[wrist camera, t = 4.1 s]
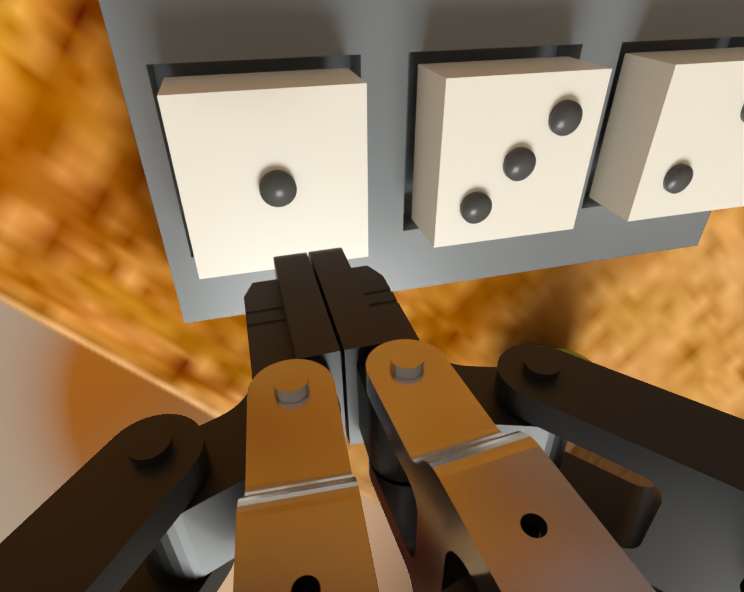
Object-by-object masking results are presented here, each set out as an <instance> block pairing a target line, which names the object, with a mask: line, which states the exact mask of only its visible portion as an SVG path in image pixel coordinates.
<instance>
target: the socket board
mask: <svg viewBox="0 0 744 592" xmlns="http://www.w3.org/2000/svg"><path fill="white" fill-rule="evenodd" d="M99 4H100V7H101V11H102V15H103V19H104V22H105V26H106V30H107V34H108V37H109V41H110V45H111V49H112V52H113V56H114V60H115V64H116V67H117V71H118V75H119V79H120V82H121V86H122V90H123V94H124V97H125V101H126V105H127V109H128V112H129V116H130V120H131V124H132V127H133V131H134V135H135V139H136V143H137V146H138V150H139V154H140V158H141V161H142V165H143V169H144V173H145V176H146V180H147V184H148V188H149V191H150V195H151V199H152V203H153V206H154V210H155V214H156V218H157V221H158V225H159V229H160V233H161V236H162V240H163V244H164V248H165V251H166V255H167V259H168V263H169V266H170V270H171V274H172V278H173V281H174V285H175V289H176V293H177V296H178V300H179V304H180V308H181V311H182V315H183V319H184V323H189V322H196V321H202V320H209V319H215V318H222V317H229V316H235V315H242V314H246V313H245V304H244V296H245V294H246V293H247V291H248V289H249V288H250V286H251V284H252V283H254V282H260V281H267V280H274V279H276V275H275V269H272V270H265V271H257V272H250V273H243V274H235V275H228V276H220V277H213V278H206V279H199V275H198V271H197V267H196V262H195V258H194V254H193V249H192V245H191V241H190V236H189V232H188V228H187V223H186V219H185V215H184V210H183V206H182V202H181V197H180V193H179V189H178V184H177V180H176V176H175V172H174V167H173V163H172V159H171V154H170V150H169V146H168V141H167V137H166V133H165V128H164V124H163V120H162V115H161V111H160V107H159V102H158V98H157V94H158V92H159V89H160V87H161V84H162V82H163V79H164V77H179V76H198V75H217V74H237V73H256V72H275V71H294V70H313V69H332V68H348V69H350V70H351V71H352V72H353V73H355V74H356V75H357V76H358V77H360V78H361V79H362V80H363V81H365V82H366V83H367V161H368V257H361V258H354V259H347V260H348V262H349V264H350V266H351V268H353V267H360V266H366V265H368V266H369V267H371V268H372V269H374V270H375V271H377V272H378V273H380V274H381V275H383V276H384V278H385V280H386V282H387V284H388V285H389V287H390V289H391V292H393V291H400V290H407V289H413V288H420V287H426V286H433V285H440V284H446V283H453V282H459V281H466V280H473V279H479V278H486V277H492V276H499V275H506V274H512V273H519V272H525V271H532V270H538V269H545V268H552V267H558V266H565V265H571V264H578V263H585V262H591V261H598V260H604V259H611V258H618V257H624V256H631V255H637V254H644V253H651V252H657V251H664V250H670V249H677V248H684V247H690V246H697V245H698V243H699V240H700V238H701V235H702V233H703V230H704V228H705V225H706V223H707V220H708V218H709V216H710V213H711V211H712V210H710V211H702V212H695V213H688V214H680V215H673V216H665V217H658V218H650V219H643V220H636V221H626V220H624V219H623V218H621V217H620V216H618V215H617V214H615V213H613V212H612V211H610V210H609V209H607V208H605V207H604V206H602V205H601V204H599V203H597V202H596V201H594V200H593V199H591V198H590V197H589V194H590V190H591V186H592V182H593V179H594V175H595V171H596V167H597V163H598V159H599V155H600V151H601V147H602V143H603V139H604V135H605V131H606V127H607V123H608V119H609V115H610V111H611V107H612V103H613V99H614V95H615V91H616V87H617V84H618V80H619V76H620V72H621V68H622V64H623V60H624V56H625V53H638V52H657V51H677V50H696V49H715V48H734V47H744V0H99ZM562 56H568V57H572V58H575V59H579V60H583V61H586V62H590V63H594V64H597V65H601V66H605V67H608V68H612V72H611V76H610V80H609V84H608V88H607V92H606V96H605V100H604V104H603V108H602V113H601V117H600V121H599V125H598V129H597V133H596V137H595V141H594V145H593V150H592V154H591V158H590V162H589V166H588V170H587V174H586V178H585V182H584V187H583V191H582V195H581V199H580V203H579V207H578V211H577V215H576V219H575V224H574V228H573V229H569V230H562V231H554V232H547V233H539V234H532V235H524V236H517V237H510V238H502V239H495V240H487V241H480V242H473V243H465V244H458V245H450V246H443V247H435V248H434V247H433V246H432V245H431V243H430V242H429V241H428V239H427V238H426V237H425V235H424V234H423V233H422V232H421V230H420V229H419V228H418V226H417V225H416V224H415V223H414V221H413V220H412V219H411V215H412V192H413V169H414V146H415V122H416V99H417V76H418V64H428V63H447V62H466V61H485V60H504V59H523V58H543V57H562Z"/></svg>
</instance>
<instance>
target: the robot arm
mask: <svg viewBox="0 0 744 592" xmlns="http://www.w3.org/2000/svg"><path fill="white" fill-rule="evenodd" d="M273 260H274V268H275V275H276V279H274V280H267V281H260V282H254V283H252V284H251V286H250V288H249V289H248V291H247V293H246V294H245V296H244V304H245V313H246V322H247V332H248V341H249V350H250V360H251V369H252V381H251V383H250V385H249V387H248V392H247V395H246V396H245V398H244V399H243V400H242V401H241V402H240V403H239V404H238V405H237V406H235V407H234V408H233V409H232V410H230V411H229V412H227V413H225V414H223V415H222V416H220V417H218V418H215V419H213V420H211V421H209V422H207V423H205V424H203V425H200V426H199V425H198V424H197V423H196V422H195V421H193V420H192V419H190V418H188V417H185V416H182V415H177V414H162V415H156V416H152V417H149V418H145V419H143V420H140V421H137V422H136V423H134V424H132V425H130V426H128V427H127V428H125V429H124V430H122V431H121V432H120V433H118V434H117V435H116V436H115V437H114V438H113V439H112V440H111V441H109V442H108V443H107V444H106V445H105V446H104V447H103V448H102V449H101V450H100V451H99V452H98V453H97V454H96V455H94V456H93V457H92V458H91V459H90V460H89V461H88V462H87V463H86V464H85V465H84V466H83V467H82V468H81V469H80V470H78V471H77V472H76V473H75V474H74V475H73V476H72V477H71V478H70V479H69V480H68V481H67V482H66V483H64V484H63V485H62V486H61V487H60V488H59V489H58V490H57V491H56V492H55V493H54V494H53V495H52V496H51V497H50V498H49V499H47V500H46V501H45V502H44V503H43V504H42V505H41V506H40V507H39V508H38V509H37V510H36V511H35V512H34V513H32V514H31V515H30V516H29V517H28V518H27V519H26V520H25V521H24V522H23V523H22V524H21V525H19V527H17V528H16V529H15V530H14V531H13V532H12V533H11V534H10V535H9V536H8V537H7V538H6V539H5V540H4V541H2V542H1V543H0V592H217V591H218V589H219V587H220V586H221V585H222V583H223V581H224V580H225V578H226V577H227V575H228V573H229V571H230V570H231V568H232V565H233V563H234V583H233V585H234V586H233V592H379V588H378V583H377V578H376V573H375V568H374V563H373V558H372V553H371V548H370V543H369V538H368V533H367V527H366V522H365V518H364V512H363V507H362V502H361V497H360V492H359V488H358V484H357V480H356V478H355V477H353V476H352V471H351V466H350V461H349V456H348V450H347V444H346V433H347V437H348V440H349V444H350V445H354V444H358V443H363V442H364V444H365V447H366V450H367V453H368V459H369V477H370V480H371V483H372V485H373V487H374V490H375V492H376V495H377V497H378V500H379V502H380V504H381V507H382V509H383V511H384V514H385V517H386V519H387V521H388V524H389V526H390V529H391V531H392V533H393V536H394V538H395V541H396V543H397V546H398V548H399V550H400V553H401V555H402V558H403V560H404V563H405V565H406V568H407V570H408V574H409V577H410V581H411V585H412V591H413V592H744V420H743V419H741V418H738V417H735V416H733V415H730V414H727V413H725V412H722V411H720V410H717V409H714V408H712V407H709V406H706V405H704V404H701V403H698V402H696V401H693V400H690V399H688V398H685V397H682V396H680V395H677V394H674V393H672V392H669V391H667V390H664V389H661V388H659V387H656V386H653V385H651V384H648V383H645V382H643V381H640V380H637V379H635V378H632V377H629V376H627V375H624V374H621V373H619V372H616V371H614V370H611V369H608V368H606V367H603V366H600V365H598V364H595V363H592V362H590V361H587V360H584V359H582V358H579V357H576V356H574V355H571V354H568V353H566V352H563V351H561V350H558V349H555V348H552V347H549V346H544V345H538V344H523V345H518V346H514V347H512V348H509V349H508V350H506V351H505V352H504V353H503V354H502V355H501V356H500V358H499V361H498V365H497V367H476V366H461V365H456V364H452V363H449V361H448V360H447V359H446V357H445V356H444V355H443V353H442V352H441V351H440V350H438V349H437V348H436V347H434V346H432V345H430V344H428V343H426V342H422V341H420V340H419V338H418V337H417V335H416V333H415V331H414V329H413V328H412V326H411V324H410V322H409V321H408V319H407V317H406V315H405V314H404V312H403V310H402V308H401V307H400V305H399V303H397V299H396V298H395V296H394V294H393V292H391V289H390V287H389V285H388V284H387V282H386V280H385V278H384V276H383V275H381V274H380V273H378V272H377V271H375V270H374V269H372V268H371V267H369V266H368V265H366V266H360V267H353V268H351V266H350V264H349V262H348V260H347V258H346V256H345V254H344V252H343V250H342V248H341V247H339V248H332V249H325V250H318V251H311V252H308V255H307V253H306V252H305V253H297V254H290V255H283V256H276V257H273ZM568 441H569V442H571V443H573V444H575V445H577V446H580V447H582V448H584V449H586V450H588V451H590V452H592V453H595V454H597V455H599V456H601V457H603V458H605V459H607V460H610V461H612V462H614V463H616V464H618V465H620V466H622V467H625V468H627V469H629V470H631V471H633V472H635V473H637V474H640V475H642V476H644V477H645V478H647V479H648V480H650V481H651V482H652V483H653V484H654V485H655V486H653V487H642V486H638V485H635V484H633V483H631V482H628V481H626V480H624V479H622V478H620V477H618V476H616V475H614V474H612V473H610V472H607V471H605V470H603V469H601V468H599V467H597V466H595V465H593V464H591V463H589V462H587V461H584V460H582V459H580V458H578V457H576V456H574V455H572V454H570V453H568V452H566V451H565V449H566V446H567V443H568Z"/></svg>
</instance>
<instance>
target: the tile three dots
mask: <svg viewBox="0 0 744 592" xmlns="http://www.w3.org/2000/svg"><path fill="white" fill-rule="evenodd" d="M611 72H612V68H608V67H605V66H601V65H597V64H594V63H590V62H586V61H583V60H579V59H575V58H572V57H568V56H562V57H543V58H523V59H504V60H485V61H466V62H447V63H428V64H418V76H417V99H416V122H415V146H414V169H413V192H412V215H411V219H412V220H413V221H414V223H415V224H416V225H417V226H418V228H419V229H420V230H421V232H422V233H423V234H424V235H425V237H426V238H427V239H428V241H429V242H430V243H431V245H432V246H433V247H434V248H435V247H443V246H450V245H458V244H465V243H473V242H480V241H487V240H495V239H502V238H510V237H517V236H524V235H532V234H539V233H547V232H554V231H562V230H569V229H573V228H574V224H575V219H576V215H577V211H578V207H579V203H580V199H581V195H582V191H583V187H584V182H585V178H586V174H587V170H588V166H589V162H590V158H591V154H592V150H593V145H594V141H595V137H596V133H597V129H598V125H599V121H600V117H601V113H602V108H603V104H604V100H605V96H606V92H607V88H608V84H609V80H610V76H611Z"/></svg>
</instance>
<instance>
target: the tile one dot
mask: <svg viewBox="0 0 744 592" xmlns="http://www.w3.org/2000/svg"><path fill="white" fill-rule="evenodd" d="M157 98H158V102H159V107H160V111H161V115H162V120H163V124H164V128H165V133H166V137H167V141H168V146H169V150H170V154H171V159H172V163H173V167H174V172H175V176H176V180H177V184H178V189H179V193H180V197H181V202H182V206H183V210H184V215H185V219H186V223H187V228H188V232H189V236H190V241H191V245H192V249H193V254H194V258H195V262H196V267H197V271H198V275H199V279H206V278H213V277H220V276H228V275H235V274H243V273H250V272H257V271H265V270H272V269H275V268H274V260H273V257H276V256H283V255H290V254H297V253H305V252H306V253H307V255H308V252H311V251H318V250H325V249H332V248H339V247H341V248H342V250H343V252H344V254H345V256H346V258H347V259H354V258H361V257H368V161H367V83H366V82H365V81H363V80H362V79H361V78H360V77H358V76H357V75H356V74H355V73H353V72H352V71H351V70H350V69H348V68H332V69H313V70H294V71H275V72H256V73H237V74H217V75H198V76H179V77H164V79H163V82H162V84H161V87H160V89H159V92H158V94H157Z"/></svg>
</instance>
